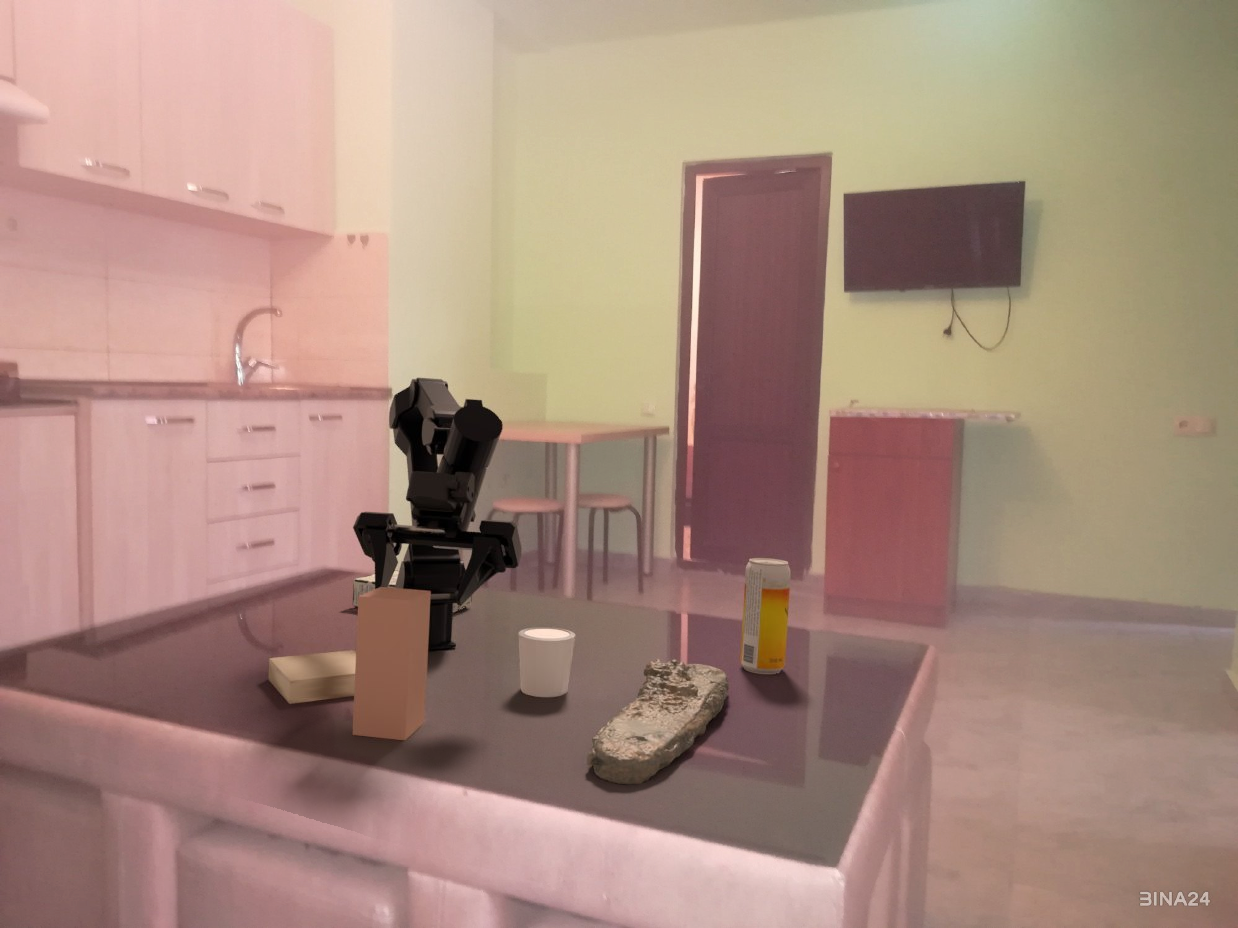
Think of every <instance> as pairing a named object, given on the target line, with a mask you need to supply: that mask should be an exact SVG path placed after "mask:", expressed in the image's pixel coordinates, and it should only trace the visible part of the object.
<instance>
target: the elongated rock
mask: <svg viewBox="0 0 1238 928" xmlns="http://www.w3.org/2000/svg"><path fill="white" fill-rule="evenodd" d="M643 676H644V677H646V678H645V679H646V680H645V681H644V682H643V683H642V686H641V687H640V688H639V689H638V690H639V691H638V692H637V696H636V698H635V699H634V701H632V702H630V703H629V702H628V703H627V705H626V706H624V707H623V708H621V709H619V711H618V713H617V715H616V716H614V717H611V718H610V719H609V721H607V722H606V723H605V726H602V727H601V728H600V729H599V731H597V732H596V734H595V735H594V736H593V737H592V739H591V742H592V745H591V746H590V751H589V752H588V754H587V756H586V757H587V758H586V765H587V766H592V767H593V770H594V774H595V775H596V776H597V777H599V778H600V779H602V780H605V781H608V782H609V783H614V784H619V785H639V784H642V783H644V782H645V781H646V782H647V781H649V779H650V778H651V777H653V776H655V775H656V774H657V772H658V771H660V770H662V769H664V768H665V767H667V766H669V765H670V764H671V763H672V762H673V761H674V759H676V758H679V757H680V756H681V755H682V754H684V753H685V751H687V750H688V749H689V748H691V747H693V745H694V743H695V739H696V738H697V737H698V736H702V735H704V734H705V732H706V729H707V725H708V724H709V722H711V720H712V719H714V718H716V717H717V715H718V714H719V713H720V712H721V711H722V709H723V706H724V703H725V700H726V699H727V696H728V695H727V693H728V692H729V689H730V684H729V681H730V679H729V678H728V675H727V674H726V673H725V672H724V670H722V669H720V668H717V667H715V666H711V665H707V664H702V663H688V664H685V662H683V661H678V660H677V659H672V660H668V661H667V662H662V661H661V660H660V659H659V658H656V659H655V660H654V661H649V662H647V663H646V665H645V668H644V669H643Z"/></svg>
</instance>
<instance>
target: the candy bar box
mask: <svg viewBox="0 0 1238 928" xmlns="http://www.w3.org/2000/svg"><path fill="white" fill-rule="evenodd" d="M398 574H399V570H396V569H395V571H394V573H393V576H392V578H391V580H390V583H389V585H388V588H396V581H397V577H398ZM352 585H353V586H352V589H353V591H352V607H353V606H354V607H353V608H358V596H360V595H363V594H365V593H367V592H370V591H372V590H375V573H374V574H370V575H365V576H362V577H357V578H354V579H353V584H352ZM472 596H473V594H472V595H471V596H470V597H469V598H468V599H467V600H466V601H465V602H464V603H463V604H462V605H458V604H457V603H453V611H455V610H459V609H460V608H463V607H467V606H468V605H471V606H472V601H473V599H472Z"/></svg>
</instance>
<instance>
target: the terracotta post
mask: <svg viewBox="0 0 1238 928" xmlns="http://www.w3.org/2000/svg"><path fill="white" fill-rule="evenodd" d="M430 596H431V591H425V590H413V589H401V588H388V587H379V588H377V589H375V590H372V591H370V592H367V593H365V594H363V595H360V596H358V607H357V621H356V622H357V625H356V644H355V645H356V646H355V652H356V666H355V690H354V696H353V715H352V716H353V717H352V719H353V720H352V736H360V737H362V736H363V737H368V738H369V737H372V738H379V739H390V740H398V741H400V740H401V741H406V740H407V739H408V738H409V737H410V736H412V735H413V734H414V733H415V732H416V731H417V730H418V729H419V728H420V727H421V726H422V725H424V724H425V723H426V722H425V721H426V703H427V702H426V701H427V700H426V699H427V683H428V681H427V679H428V678H427V677H428V660H429V659H428V658H429V650H428V639H429V618H430Z"/></svg>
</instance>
